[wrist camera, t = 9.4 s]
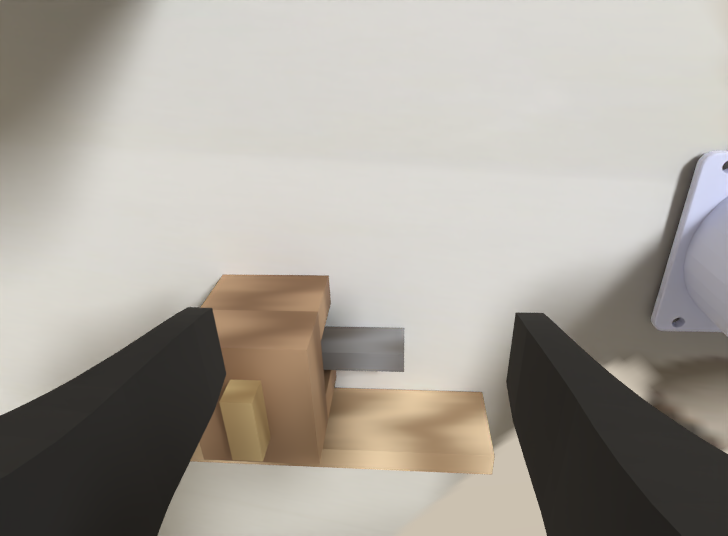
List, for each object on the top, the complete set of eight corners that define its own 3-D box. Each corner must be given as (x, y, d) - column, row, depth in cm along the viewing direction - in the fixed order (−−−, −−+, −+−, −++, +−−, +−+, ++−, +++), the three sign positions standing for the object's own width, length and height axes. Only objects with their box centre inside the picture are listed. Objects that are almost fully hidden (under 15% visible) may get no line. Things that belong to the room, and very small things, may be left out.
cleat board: (488, 329, 23) (503, 388, 19) (480, 409, 25) (491, 474, 22) (126, 322, 24) (79, 375, 21) (150, 398, 27) (112, 458, 23)
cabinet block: (328, 275, 22) (300, 371, 16) (336, 376, 25) (314, 489, 19) (223, 274, 23) (158, 367, 17) (242, 374, 26) (193, 484, 20)
